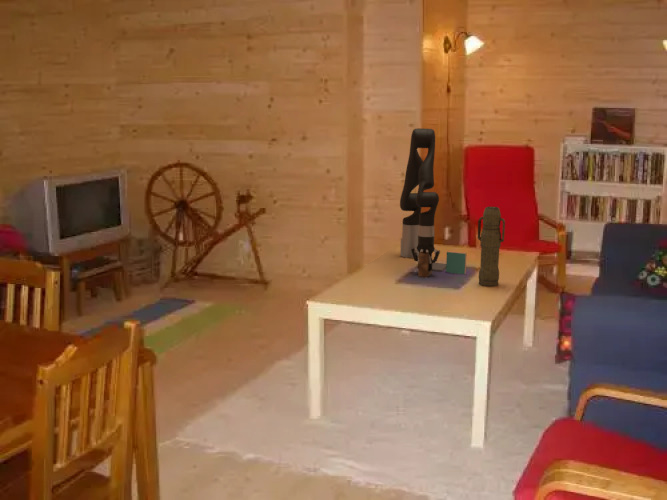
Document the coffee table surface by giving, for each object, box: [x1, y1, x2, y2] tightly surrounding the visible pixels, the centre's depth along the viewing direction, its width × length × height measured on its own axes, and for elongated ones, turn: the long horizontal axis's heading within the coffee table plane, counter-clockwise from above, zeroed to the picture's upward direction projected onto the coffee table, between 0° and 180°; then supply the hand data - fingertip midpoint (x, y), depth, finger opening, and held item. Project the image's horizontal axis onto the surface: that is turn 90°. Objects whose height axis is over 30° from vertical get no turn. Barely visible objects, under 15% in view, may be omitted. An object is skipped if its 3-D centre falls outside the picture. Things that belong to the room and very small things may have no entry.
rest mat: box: [432, 262, 446, 272], centre depth 381 cm, size 12×14×1 cm
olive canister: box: [477, 206, 506, 288], centre depth 345 cm, size 9×12×35 cm
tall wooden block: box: [417, 253, 433, 278], centre depth 363 cm, size 4×8×11 cm, turn 156°
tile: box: [445, 250, 467, 275], centre depth 369 cm, size 9×2×10 cm, turn 66°
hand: (425, 270), depth 364 cm, fingers closed on tall wooden block, 4 cm apart
